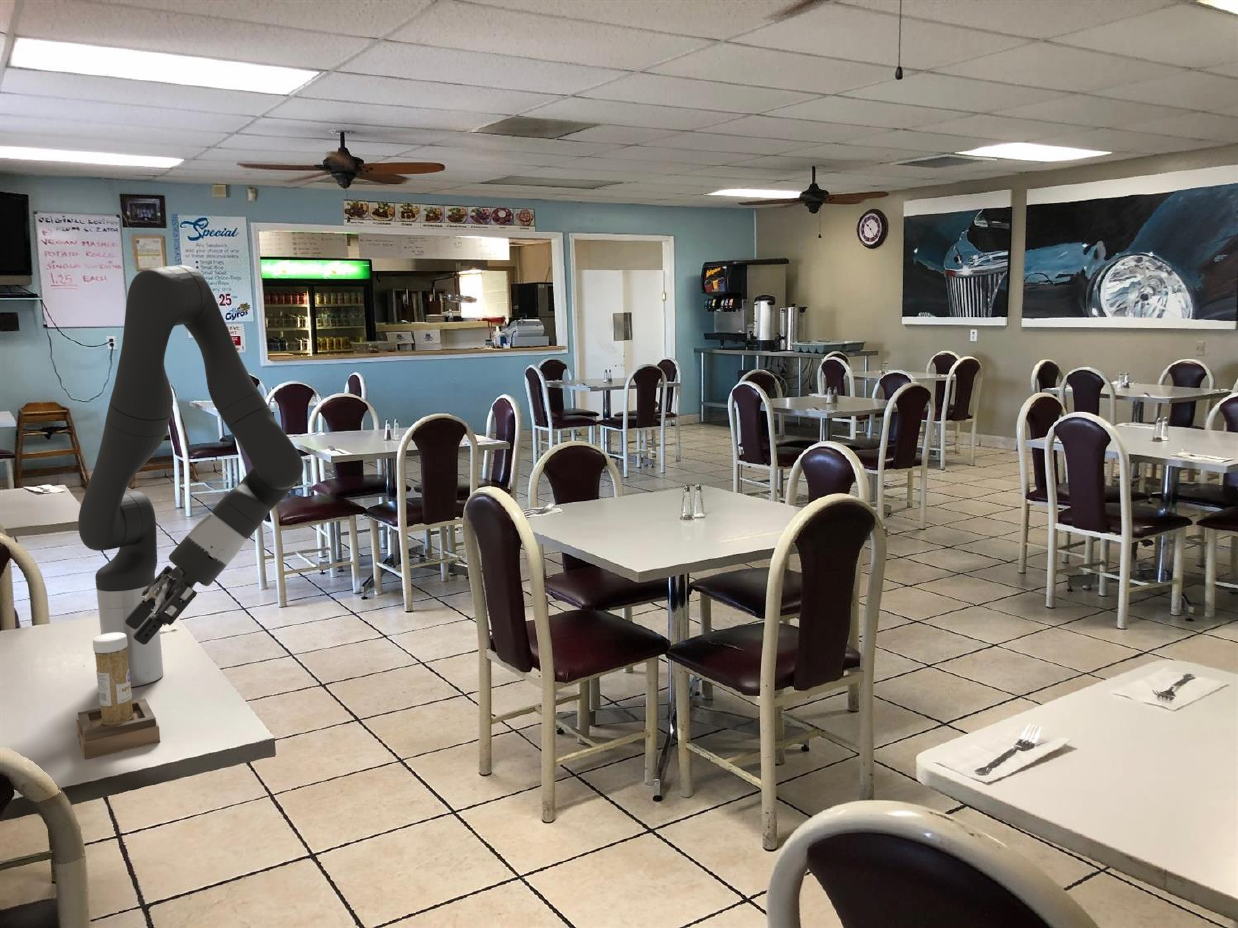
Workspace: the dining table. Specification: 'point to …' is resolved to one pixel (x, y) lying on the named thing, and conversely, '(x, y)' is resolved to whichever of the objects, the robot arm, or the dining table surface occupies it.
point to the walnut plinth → (116, 731)
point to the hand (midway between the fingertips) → (133, 633)
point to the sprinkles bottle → (113, 678)
